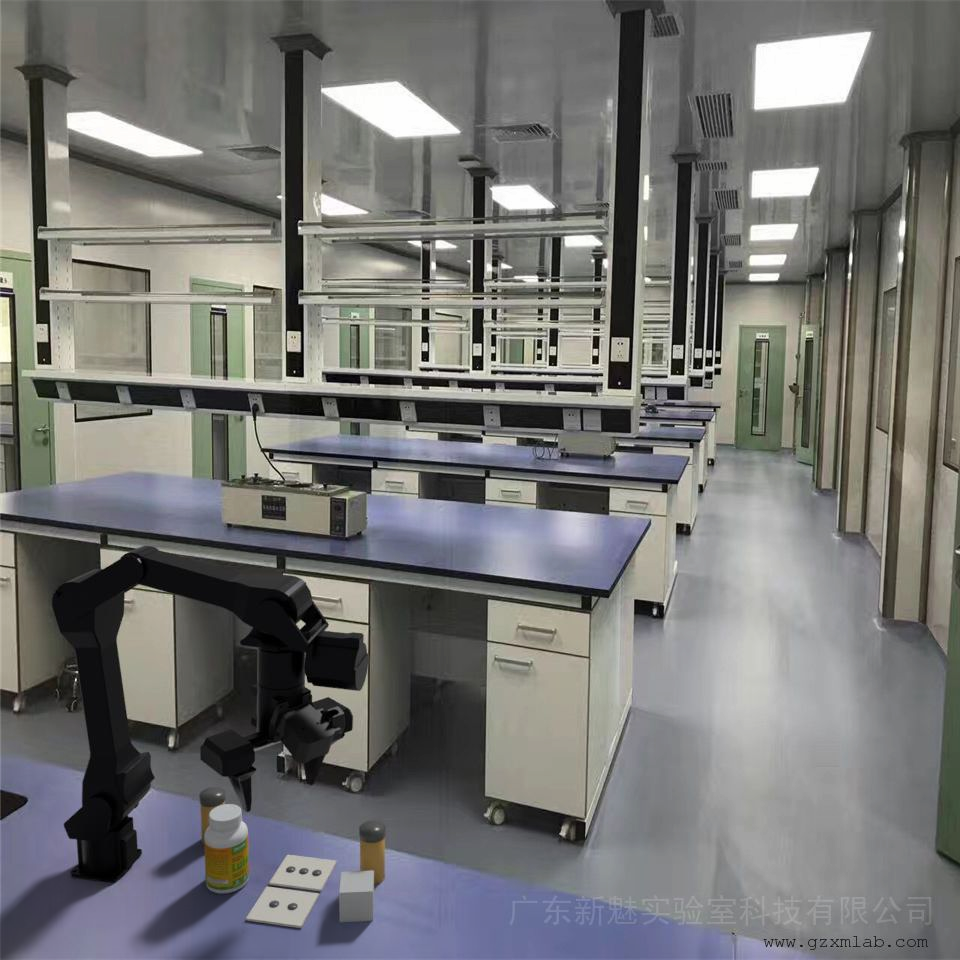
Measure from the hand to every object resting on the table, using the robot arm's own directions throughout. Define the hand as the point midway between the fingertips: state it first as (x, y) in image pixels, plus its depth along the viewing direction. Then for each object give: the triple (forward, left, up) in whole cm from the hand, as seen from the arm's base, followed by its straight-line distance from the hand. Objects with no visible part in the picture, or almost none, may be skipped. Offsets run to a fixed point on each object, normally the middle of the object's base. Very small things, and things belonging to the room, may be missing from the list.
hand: (279, 796), depth 105 cm
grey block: (+11, -3, -12) cm, 17 cm away
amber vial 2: (+11, +4, -12) cm, 17 cm away
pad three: (+2, +3, -12) cm, 13 cm away
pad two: (+2, -4, -12) cm, 13 cm away
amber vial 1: (-13, +7, -12) cm, 19 cm away
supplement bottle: (-7, -1, -13) cm, 14 cm away
